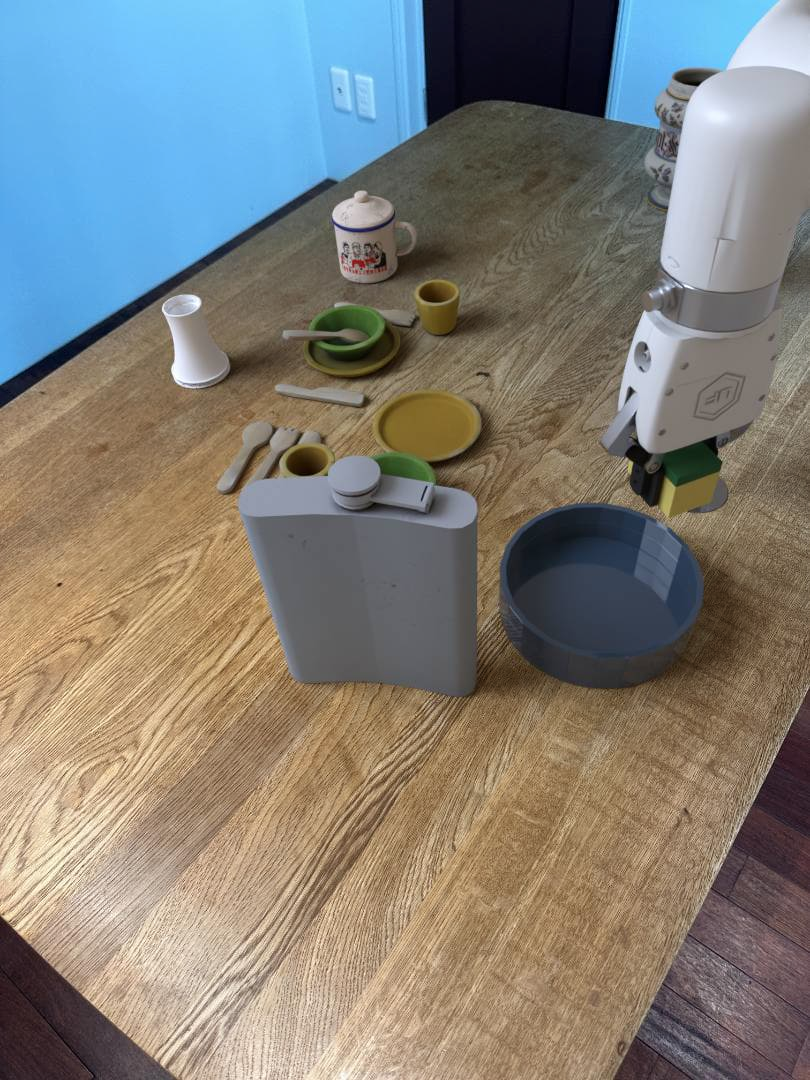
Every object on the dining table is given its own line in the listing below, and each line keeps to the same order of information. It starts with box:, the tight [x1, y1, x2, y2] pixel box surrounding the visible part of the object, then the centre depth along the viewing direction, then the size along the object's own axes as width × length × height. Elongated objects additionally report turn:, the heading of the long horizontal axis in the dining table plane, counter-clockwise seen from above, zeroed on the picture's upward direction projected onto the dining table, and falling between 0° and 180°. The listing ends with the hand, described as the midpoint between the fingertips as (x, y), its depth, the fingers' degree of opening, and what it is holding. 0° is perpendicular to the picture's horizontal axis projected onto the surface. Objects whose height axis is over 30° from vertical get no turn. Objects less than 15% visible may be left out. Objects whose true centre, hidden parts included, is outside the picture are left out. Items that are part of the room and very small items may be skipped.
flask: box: [237, 454, 479, 698], centre depth 66 cm, size 17×5×25 cm, turn 82°
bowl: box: [498, 502, 705, 690], centre depth 76 cm, size 18×18×5 cm
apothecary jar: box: [643, 66, 723, 213], centre depth 123 cm, size 12×12×18 cm
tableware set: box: [216, 278, 483, 495], centre depth 98 cm, size 41×28×6 cm
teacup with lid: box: [331, 190, 418, 284], centre depth 117 cm, size 12×9×12 cm
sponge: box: [627, 441, 724, 519], centre depth 65 cm, size 6×4×4 cm, turn 22°
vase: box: [161, 294, 231, 390], centre depth 104 cm, size 8×8×10 cm
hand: (669, 484), depth 66 cm, fingers closed on sponge, 4 cm apart
